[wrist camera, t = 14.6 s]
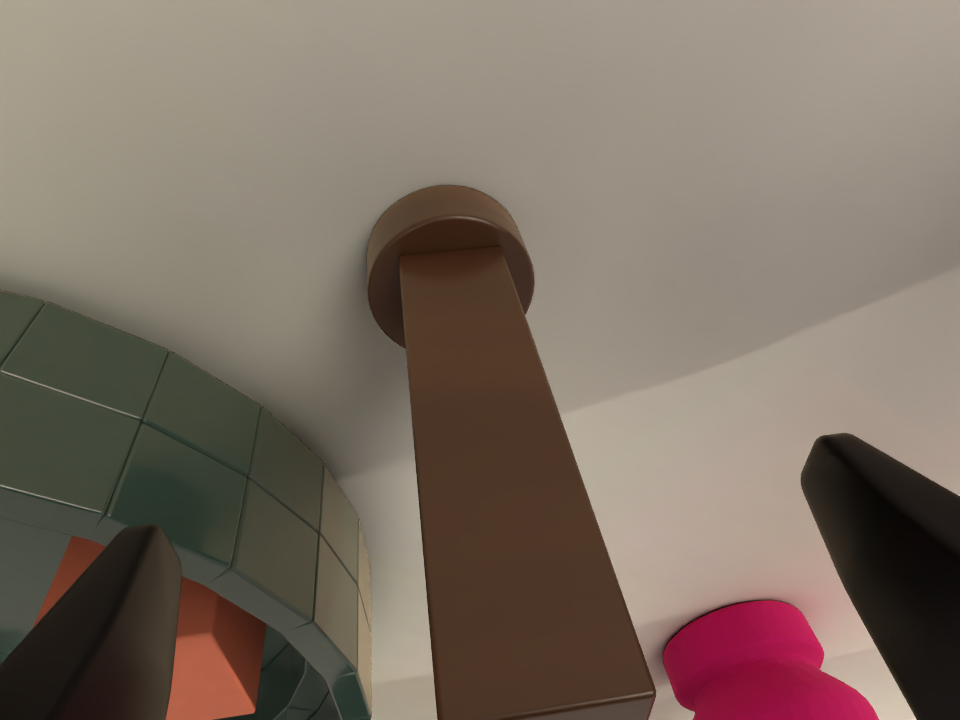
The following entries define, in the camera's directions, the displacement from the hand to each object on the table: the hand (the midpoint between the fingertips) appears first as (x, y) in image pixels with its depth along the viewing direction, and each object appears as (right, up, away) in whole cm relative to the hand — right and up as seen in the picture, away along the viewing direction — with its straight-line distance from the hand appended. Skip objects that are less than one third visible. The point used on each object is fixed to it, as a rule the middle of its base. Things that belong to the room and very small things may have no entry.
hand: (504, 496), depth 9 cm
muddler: (-1, +4, +5) cm, 7 cm away
